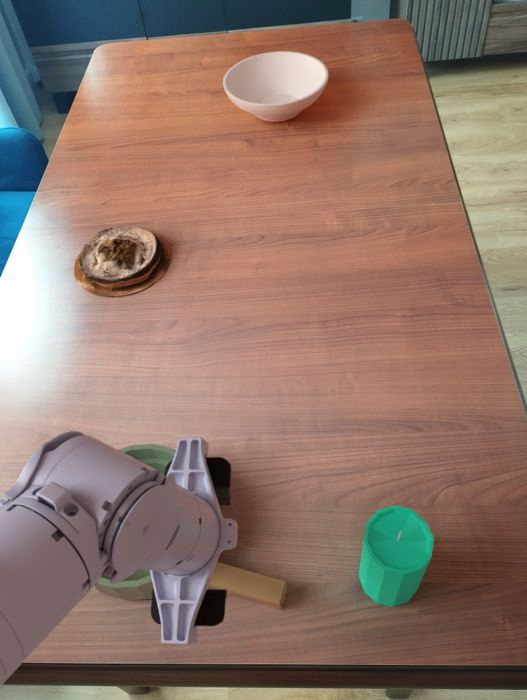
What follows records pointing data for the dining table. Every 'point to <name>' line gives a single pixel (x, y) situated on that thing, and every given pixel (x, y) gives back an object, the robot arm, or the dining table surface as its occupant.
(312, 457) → the dining table surface
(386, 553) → the candle
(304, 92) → the bowl
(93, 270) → the brown mottled round dish
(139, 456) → the mixing bowl
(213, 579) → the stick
